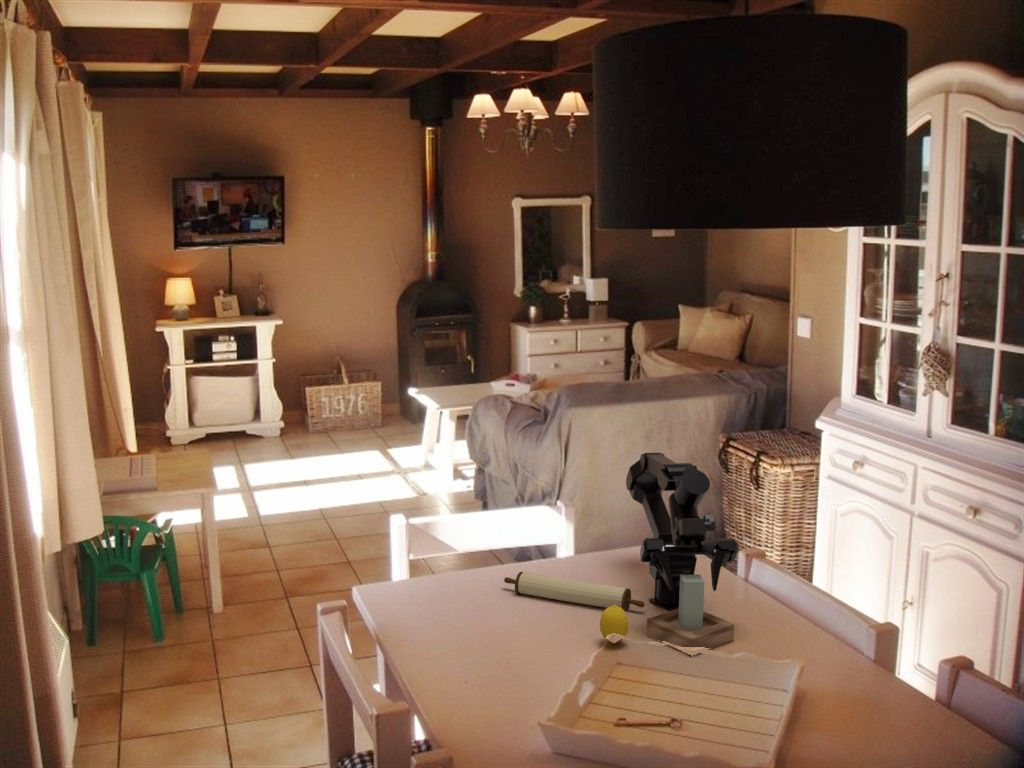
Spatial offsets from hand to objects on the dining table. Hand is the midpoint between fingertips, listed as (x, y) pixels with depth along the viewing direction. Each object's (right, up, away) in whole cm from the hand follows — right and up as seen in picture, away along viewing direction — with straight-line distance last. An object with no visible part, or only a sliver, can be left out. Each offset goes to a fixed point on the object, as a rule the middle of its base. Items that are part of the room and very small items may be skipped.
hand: (693, 590), depth 202 cm
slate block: (0, -8, +3) cm, 8 cm away
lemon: (-16, -11, 0) cm, 19 cm away
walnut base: (0, -10, +3) cm, 11 cm away
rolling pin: (-22, -7, +22) cm, 32 cm away
